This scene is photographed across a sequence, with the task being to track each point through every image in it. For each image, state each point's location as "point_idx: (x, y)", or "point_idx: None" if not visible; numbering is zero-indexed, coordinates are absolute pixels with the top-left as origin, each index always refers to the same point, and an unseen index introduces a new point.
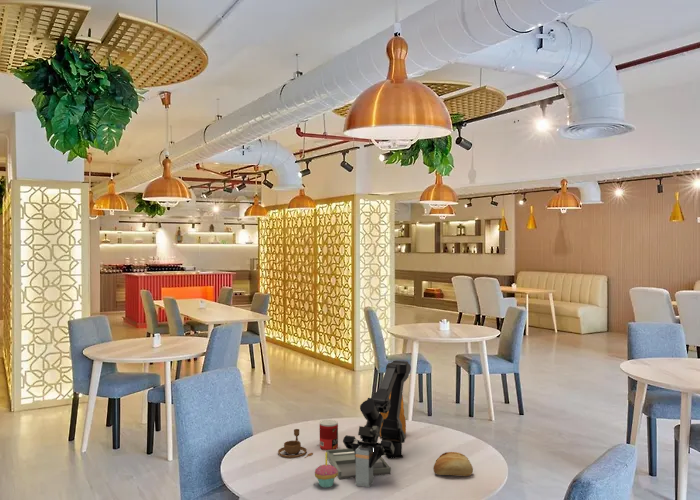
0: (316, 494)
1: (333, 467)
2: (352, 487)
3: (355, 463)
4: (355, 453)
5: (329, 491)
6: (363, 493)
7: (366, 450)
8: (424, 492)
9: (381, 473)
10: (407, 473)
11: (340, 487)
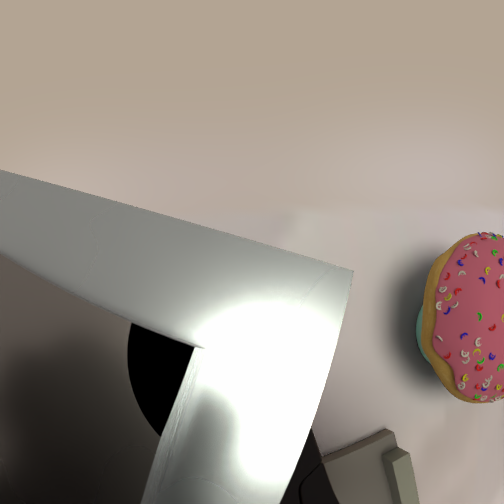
0: (451, 207)
1: (483, 314)
2: None
3: None
4: (316, 487)
5: (411, 243)
6: (212, 227)
7: (5, 215)
8: None
9: None
10: None
11: (366, 305)
